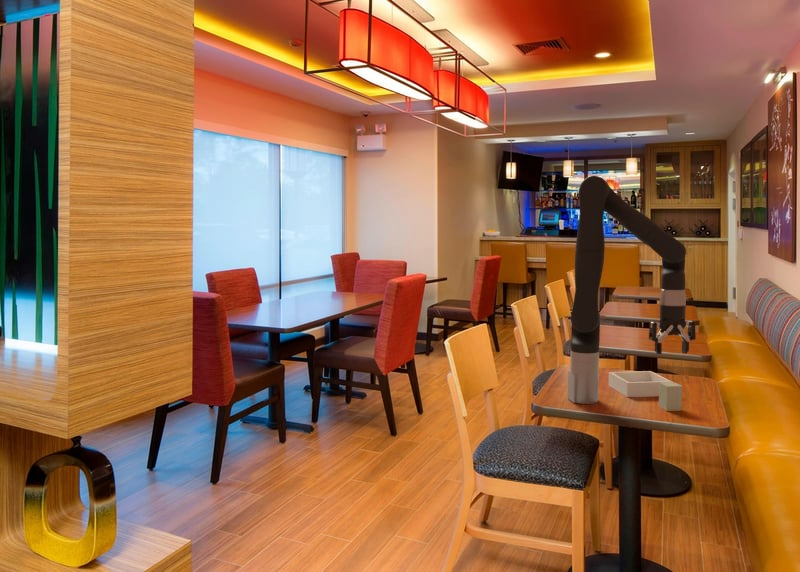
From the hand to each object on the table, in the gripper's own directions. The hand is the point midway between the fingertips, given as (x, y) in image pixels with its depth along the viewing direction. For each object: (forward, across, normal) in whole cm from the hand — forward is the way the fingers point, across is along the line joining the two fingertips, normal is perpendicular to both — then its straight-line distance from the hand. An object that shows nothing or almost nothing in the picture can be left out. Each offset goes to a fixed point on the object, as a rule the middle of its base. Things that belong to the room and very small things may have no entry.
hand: (671, 353), depth 197 cm
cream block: (+18, 0, 0) cm, 18 cm away
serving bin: (+18, 0, +22) cm, 28 cm away
